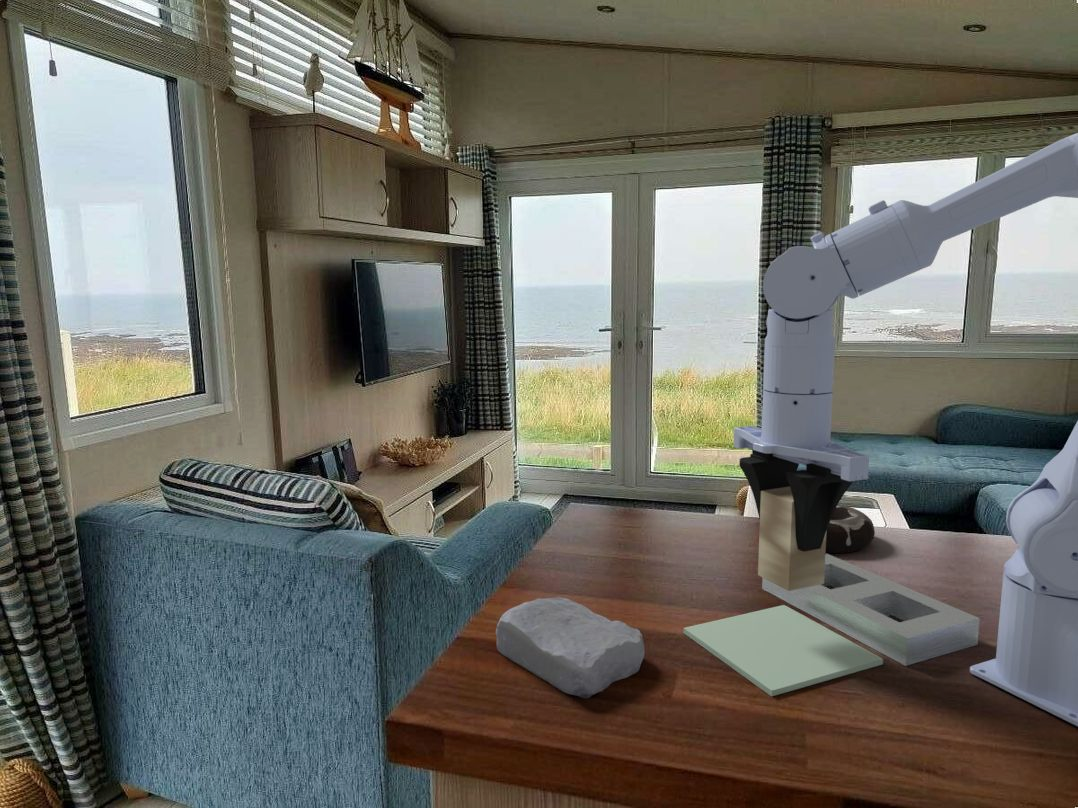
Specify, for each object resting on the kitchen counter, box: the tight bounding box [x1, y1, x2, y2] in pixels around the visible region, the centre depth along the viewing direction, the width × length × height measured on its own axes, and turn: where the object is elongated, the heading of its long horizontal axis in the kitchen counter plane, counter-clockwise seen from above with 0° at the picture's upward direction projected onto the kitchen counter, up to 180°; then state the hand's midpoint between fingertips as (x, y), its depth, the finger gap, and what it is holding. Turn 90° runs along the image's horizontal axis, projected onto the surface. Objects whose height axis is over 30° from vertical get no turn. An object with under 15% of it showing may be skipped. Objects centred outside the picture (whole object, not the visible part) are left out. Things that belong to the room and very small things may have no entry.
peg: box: [757, 487, 827, 591], centre depth 66 cm, size 4×4×8 cm
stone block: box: [495, 596, 646, 699], centre depth 64 cm, size 12×5×10 cm
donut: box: [825, 503, 876, 554], centre depth 93 cm, size 12×12×4 cm
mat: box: [683, 604, 884, 697], centre depth 66 cm, size 12×12×1 cm
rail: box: [761, 553, 981, 667], centre depth 72 cm, size 18×9×2 cm, turn 24°
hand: (790, 540), depth 66 cm, fingers closed on peg, 4 cm apart
